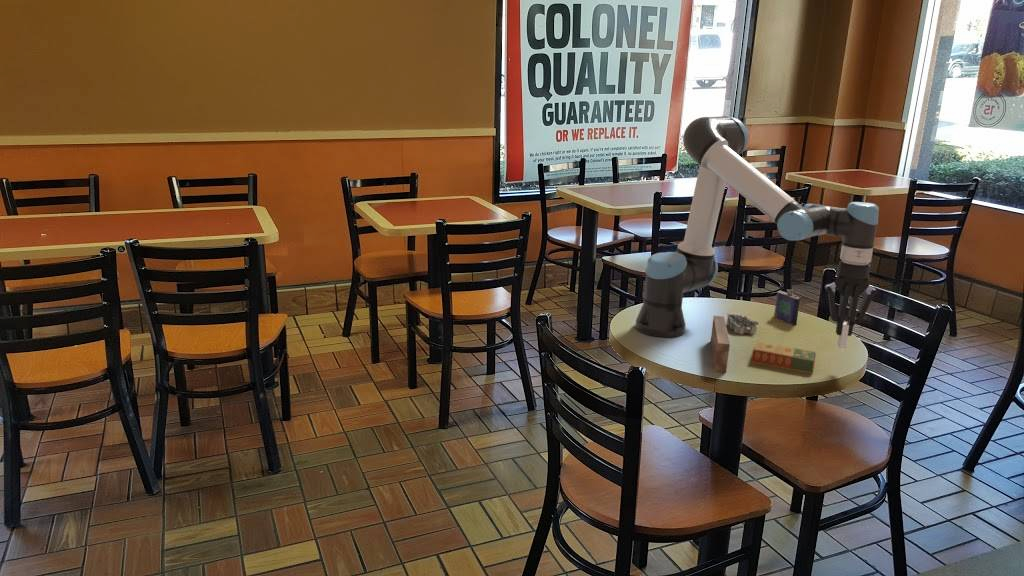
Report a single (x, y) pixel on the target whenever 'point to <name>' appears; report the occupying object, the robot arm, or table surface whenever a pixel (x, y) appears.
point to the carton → (784, 357)
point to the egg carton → (741, 324)
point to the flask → (787, 307)
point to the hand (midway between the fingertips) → (841, 346)
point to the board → (719, 344)
